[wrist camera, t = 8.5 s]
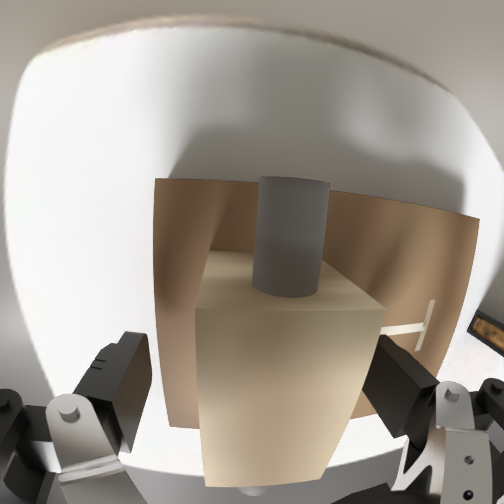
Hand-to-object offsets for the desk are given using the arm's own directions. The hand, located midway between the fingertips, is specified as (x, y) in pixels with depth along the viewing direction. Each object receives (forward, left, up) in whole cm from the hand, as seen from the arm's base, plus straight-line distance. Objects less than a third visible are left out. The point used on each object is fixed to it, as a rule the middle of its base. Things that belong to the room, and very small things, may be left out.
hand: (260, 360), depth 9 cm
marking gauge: (0, 0, -2) cm, 2 cm away
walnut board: (-4, 0, -4) cm, 5 cm away
